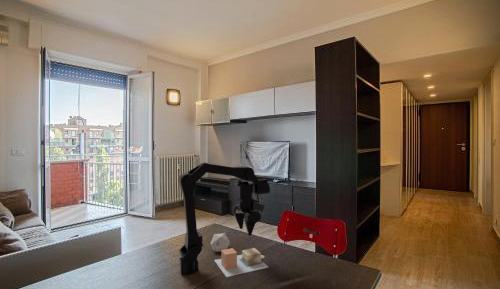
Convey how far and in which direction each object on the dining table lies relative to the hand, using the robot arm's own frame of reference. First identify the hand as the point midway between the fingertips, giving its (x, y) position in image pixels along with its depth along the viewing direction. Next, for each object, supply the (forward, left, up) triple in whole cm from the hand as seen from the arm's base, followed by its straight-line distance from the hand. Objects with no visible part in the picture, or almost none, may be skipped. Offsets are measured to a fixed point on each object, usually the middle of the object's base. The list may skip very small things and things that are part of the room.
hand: (245, 232), depth 114 cm
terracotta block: (-8, -2, -12) cm, 15 cm away
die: (-6, +16, -13) cm, 22 cm away
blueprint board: (-3, -2, -13) cm, 14 cm away
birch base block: (+2, -2, -12) cm, 12 cm away
